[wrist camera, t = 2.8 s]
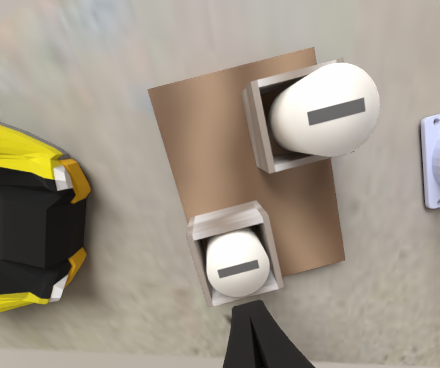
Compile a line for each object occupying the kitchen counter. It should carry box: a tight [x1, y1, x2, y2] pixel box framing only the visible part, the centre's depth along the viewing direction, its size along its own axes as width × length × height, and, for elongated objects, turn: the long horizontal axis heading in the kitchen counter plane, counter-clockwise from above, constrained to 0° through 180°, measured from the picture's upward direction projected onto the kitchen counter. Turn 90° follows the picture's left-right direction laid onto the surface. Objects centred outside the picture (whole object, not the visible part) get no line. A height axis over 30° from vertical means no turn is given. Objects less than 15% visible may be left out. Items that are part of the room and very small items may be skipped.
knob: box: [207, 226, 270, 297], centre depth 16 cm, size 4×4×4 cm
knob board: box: [148, 47, 354, 307], centre depth 17 cm, size 12×17×5 cm
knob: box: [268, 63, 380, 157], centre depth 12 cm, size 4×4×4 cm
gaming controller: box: [0, 122, 91, 312], centre depth 16 cm, size 15×6×10 cm
